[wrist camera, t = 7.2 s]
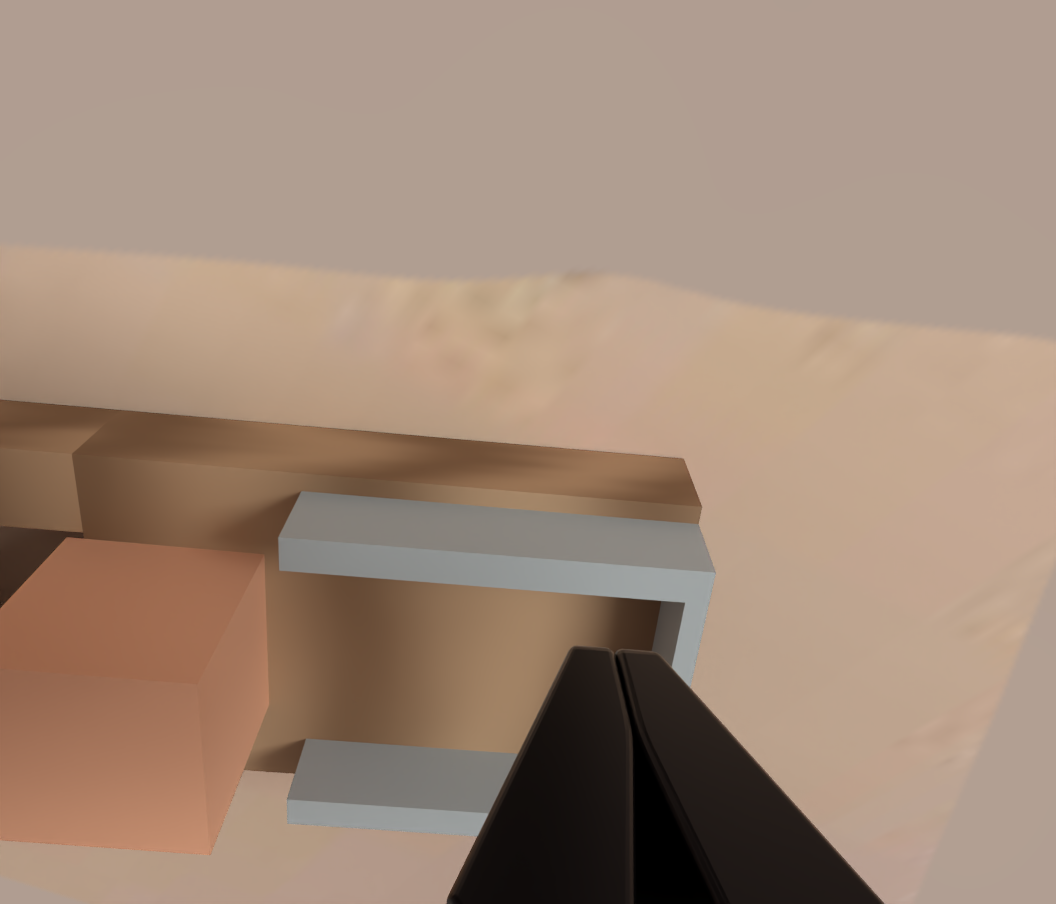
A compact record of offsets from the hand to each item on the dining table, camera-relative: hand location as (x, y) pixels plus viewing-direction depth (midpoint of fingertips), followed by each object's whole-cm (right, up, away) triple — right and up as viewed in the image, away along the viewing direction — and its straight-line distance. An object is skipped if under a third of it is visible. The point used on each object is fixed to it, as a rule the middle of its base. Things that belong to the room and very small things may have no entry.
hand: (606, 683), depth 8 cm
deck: (-7, -1, +15) cm, 17 cm away
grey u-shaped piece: (-2, -3, +13) cm, 13 cm away
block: (-9, -2, +12) cm, 16 cm away
